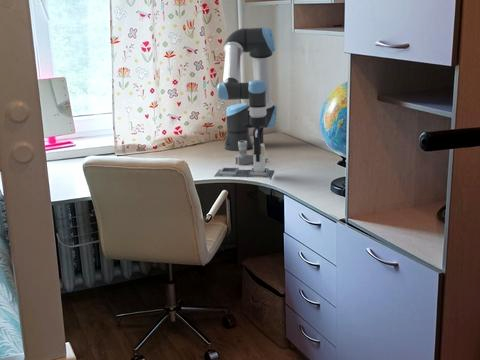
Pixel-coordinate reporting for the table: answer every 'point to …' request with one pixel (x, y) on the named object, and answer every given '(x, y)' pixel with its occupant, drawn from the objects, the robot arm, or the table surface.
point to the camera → (244, 154)
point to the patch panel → (243, 173)
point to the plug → (261, 159)
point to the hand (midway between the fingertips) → (259, 166)
